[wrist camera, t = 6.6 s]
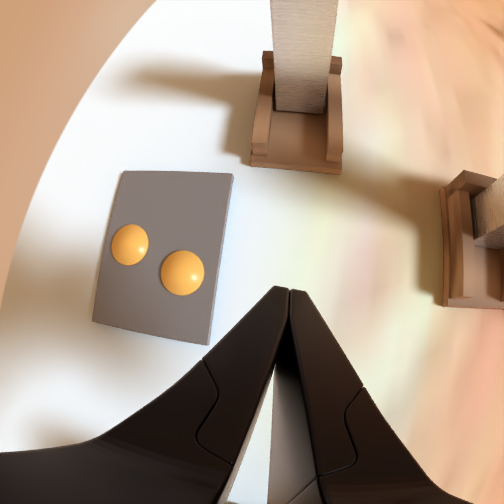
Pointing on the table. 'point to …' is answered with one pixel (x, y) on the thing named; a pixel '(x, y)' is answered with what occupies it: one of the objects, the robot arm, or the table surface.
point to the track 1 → (298, 128)
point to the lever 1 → (302, 52)
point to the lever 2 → (489, 216)
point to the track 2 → (468, 249)
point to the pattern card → (164, 254)
